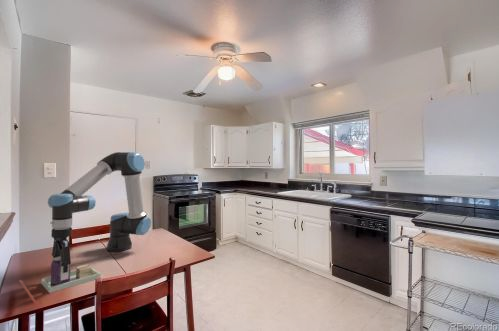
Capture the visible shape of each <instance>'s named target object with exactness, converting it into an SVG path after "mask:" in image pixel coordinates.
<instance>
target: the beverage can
mask: <svg viewBox="0 0 499 331" xmlns="http://www.w3.org/2000/svg"><path fill="white" fill-rule="evenodd" d="M61 264H62V261H61V256H58V257H55V258H53V257H52V261H51V265H50V276H51V285H52V286H56V285H60V284H63V283H67V282H69V281H70V271H71V264H69V273H68V279H65V280H61V266H60V265H61Z"/></svg>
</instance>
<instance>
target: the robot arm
mask: <svg viewBox="0 0 499 331" xmlns="http://www.w3.org/2000/svg"><path fill="white" fill-rule="evenodd" d="M145 165H146V162H145V159H144V157H143V156H142V154H141V153H138V152H130V151H129V152H125V151H124V152H121V151H118V152H113V153H111V154H108V155H107V156H105V157H103V158H101V159H100V160H99V161H98V162H97V163H96V166H93V168H91V169H90V170H89V171H88V172H87V173H85V174H84V175H82V176H81V177H80V178H79V179H77V180H76V181H74V182H73V183H72V184H71V185H70V186H68V187H67V188H66V189H64V190H63V191H61V192H60V193H54V194H52V195H50V196H49V198H48V199H47V205H48V206H49V208H51V221H50V224H51V238H53V246H52V251H51V256H52V259H53V258H55V257H58V256H61V261H62V264H61V265H60V266H61V280H65V279H68V273H69V264H70V265H71V262H72V261H71V249H70V241H69V240H68V237H71V236H72V235H73V229H72V226H73V214H75V213H80V212H86V211H91V210H93V209H94V208H95V207H96V204H97V203H96V198H95V197H94V196H93V195H88V194H87V195H84V194H85V193H86V192H88V191H89V190H90V189H91V188H93V186H95V185H96V184H98V183H99V182H100V181H101V180H102V179H103V178H104V177H106V176H107V175H111V174H112V173H113V172H120V174H121V177H123V178H124V184H125V185H124V186H125V192H126V200H127V206H128V207H127V208H128V212H120V213H114V214H112V215H111V216H110V221H109V238H108V242H107V244H106V251H108V252H113V253H114V252H115V253H116V252H118V253H119V252H124V251H127V250H130V249H132V248H133V243H132V240H131V237H130V235H136V236H144V235H146V234H147V233H148V232H149V231H150V228H151V226H152V220H151V218H150V217H149V216H147V212H146V211H144V205H143V196H142V187H141V178H140V176H141V175H142V172H143V170H144V169H145ZM131 247H132V248H131Z"/></svg>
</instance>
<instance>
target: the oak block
mask: <svg viewBox="0 0 499 331" xmlns="http://www.w3.org/2000/svg"><path fill="white" fill-rule="evenodd" d="M92 268H93V267H92V266H91V265H89V264H88V263H87V264H83V265H80V266H77V267H75V270H76V278H77V279H81V278H84V277H88V276H91V269H92Z"/></svg>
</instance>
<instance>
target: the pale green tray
mask: <svg viewBox="0 0 499 331" xmlns="http://www.w3.org/2000/svg"><path fill="white" fill-rule="evenodd" d="M98 277H100V278H101V273H100V272H99V271H97V270H96V269H95V268H93V267H92V269H91V276H88V277H84V278H81V279H77V278H76V269H74V270H70V281H69V282H67V283H63V284H60V285H56V286H52V285H51V275H50V276H46V277H43V278H41V285H42V287H44V288H45V290H46V291H47V292H48V294H52V293H54V292H58V291H61V290H65V289H68V288H71V287H74V286H78V285H82V284H85V283H89V282H91V281H95V279H96V278H98ZM96 280H97V279H96Z"/></svg>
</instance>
